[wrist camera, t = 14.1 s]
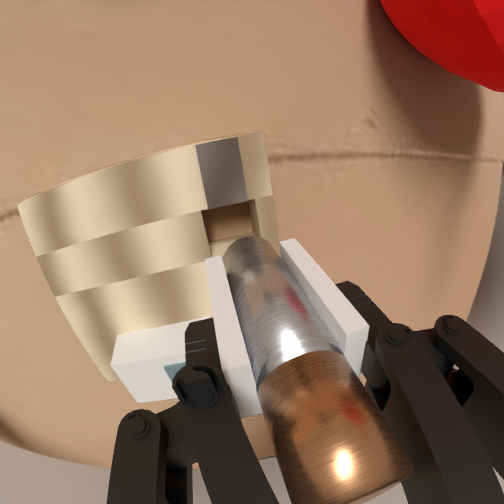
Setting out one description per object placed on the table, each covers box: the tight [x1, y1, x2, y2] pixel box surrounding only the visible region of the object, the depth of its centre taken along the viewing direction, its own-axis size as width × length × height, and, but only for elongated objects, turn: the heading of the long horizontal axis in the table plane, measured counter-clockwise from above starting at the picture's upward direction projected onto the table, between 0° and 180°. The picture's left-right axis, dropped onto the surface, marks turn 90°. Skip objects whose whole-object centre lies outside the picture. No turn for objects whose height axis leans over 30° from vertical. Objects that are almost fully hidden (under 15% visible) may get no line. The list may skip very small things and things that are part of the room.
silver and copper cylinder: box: [223, 236, 415, 504], centre depth 9 cm, size 3×3×12 cm
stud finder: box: [111, 316, 210, 403], centre depth 20 cm, size 8×5×4 cm, turn 98°
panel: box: [17, 132, 280, 381], centre depth 21 cm, size 18×18×3 cm
